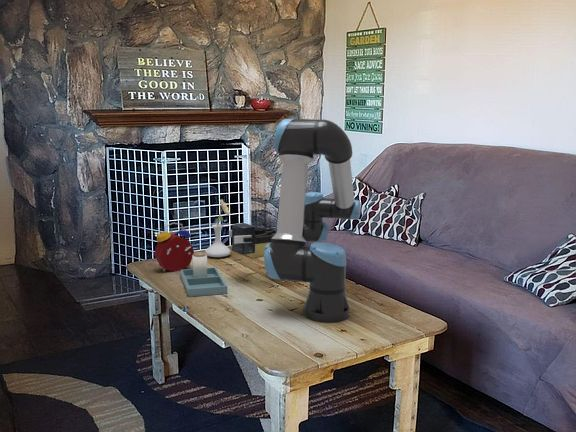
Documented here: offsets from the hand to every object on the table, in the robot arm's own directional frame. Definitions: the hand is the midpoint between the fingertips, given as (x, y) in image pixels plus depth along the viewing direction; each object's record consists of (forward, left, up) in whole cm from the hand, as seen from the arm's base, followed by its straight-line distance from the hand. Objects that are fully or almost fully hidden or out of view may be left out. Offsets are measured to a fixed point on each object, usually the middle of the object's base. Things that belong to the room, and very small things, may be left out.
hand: (231, 236), depth 221 cm
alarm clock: (+19, +19, -18) cm, 33 cm away
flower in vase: (+38, -2, -18) cm, 42 cm away
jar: (+6, +11, -17) cm, 22 cm away
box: (0, -5, -7) cm, 8 cm away
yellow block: (+36, -18, -18) cm, 44 cm away
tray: (-1, +11, -18) cm, 21 cm away
